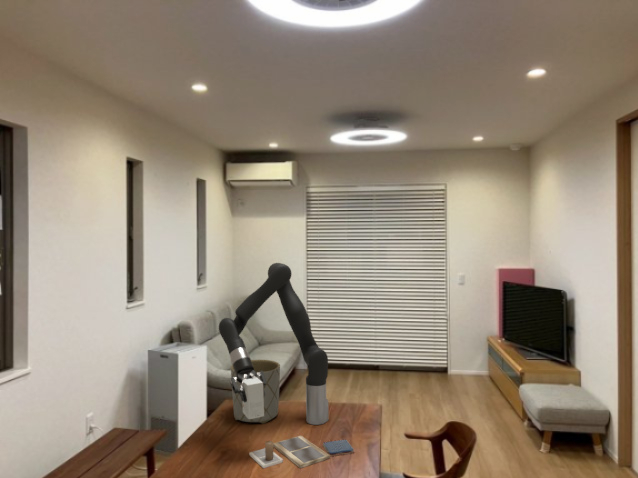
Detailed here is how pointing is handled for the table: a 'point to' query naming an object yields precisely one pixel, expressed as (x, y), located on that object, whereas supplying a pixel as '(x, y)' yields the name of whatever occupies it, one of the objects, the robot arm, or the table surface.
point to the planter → (271, 390)
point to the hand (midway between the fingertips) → (254, 399)
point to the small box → (253, 398)
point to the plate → (266, 456)
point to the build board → (301, 451)
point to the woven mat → (338, 447)
